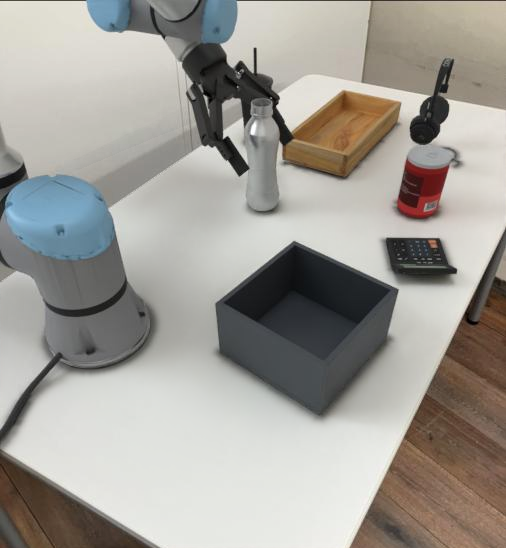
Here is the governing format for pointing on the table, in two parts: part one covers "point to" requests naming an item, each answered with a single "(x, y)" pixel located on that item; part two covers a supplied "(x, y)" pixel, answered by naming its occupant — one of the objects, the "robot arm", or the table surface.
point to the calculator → (418, 256)
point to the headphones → (433, 109)
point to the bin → (305, 323)
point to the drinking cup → (264, 78)
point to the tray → (341, 132)
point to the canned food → (423, 180)
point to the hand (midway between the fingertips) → (267, 157)
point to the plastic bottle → (262, 156)
